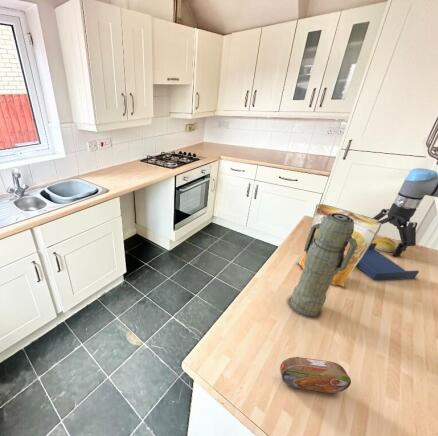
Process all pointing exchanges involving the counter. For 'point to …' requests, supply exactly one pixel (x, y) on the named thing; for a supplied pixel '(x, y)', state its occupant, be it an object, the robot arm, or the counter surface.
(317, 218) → the pancake mix bag
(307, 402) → the counter surface
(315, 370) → the tin
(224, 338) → the counter surface
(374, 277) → the scoop
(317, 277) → the thermos
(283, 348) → the counter surface
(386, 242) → the bread roll
